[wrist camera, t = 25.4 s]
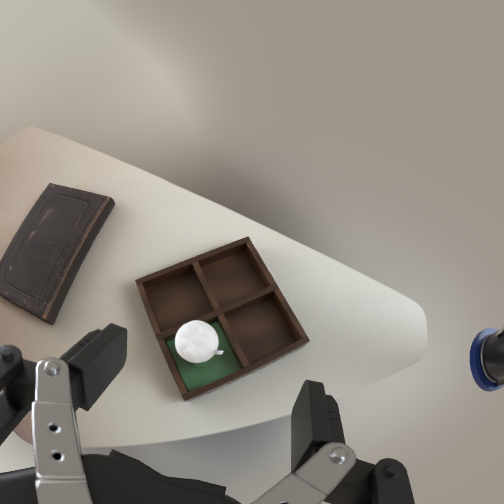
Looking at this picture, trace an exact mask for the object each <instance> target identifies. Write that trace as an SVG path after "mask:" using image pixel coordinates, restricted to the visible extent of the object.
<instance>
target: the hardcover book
mask: <svg viewBox="0 0 504 504" xmlns="http://www.w3.org/2000/svg"><path fill="white" fill-rule="evenodd" d="M114 205H115V202H114V200H113V199H112V198H111V197H108V196H103V195H99V194H95V193H91V192H86V191H82V190H78V189H74V188H69V187H65V186H61V185H56V184H52V183H49V185H48V186H47V187H46V189H45V190H44V192H43V193H42V194H41V196H40V197H39V199H38V200H37V202H36V203H35V205H34V206H33V208H32V209H31V211H30V212H29V214H28V215H27V217H26V218H25V220H24V221H23V223H22V225H21V226H20V228H19V229H18V231H17V233H16V234H15V236H14V238H13V240H12V241H11V243H10V245H9V246H8V248H7V250H6V252H5V254H4V255H3V257H2V259H1V261H0V295H1V296H3V297H4V298H6V299H8V300H9V301H11V302H12V303H14V304H16V305H17V306H19V307H21V308H23V309H24V310H26V311H28V312H29V313H31V314H33V315H35V316H37V317H38V318H40V319H42V320H44V321H46V322H48V323H50V324H51V325H53V324H54V322H55V319H56V317H57V315H58V312H59V310H60V308H61V306H62V303H63V301H64V299H65V297H66V295H67V293H68V290H69V288H70V286H71V284H72V282H73V280H74V278H75V276H76V274H77V272H78V270H79V268H80V266H81V264H82V262H83V260H84V258H85V256H86V254H87V253H88V251H89V249H90V247H91V245H92V243H93V241H94V240H95V238H96V236H97V234H98V233H99V231H100V229H101V227H102V226H103V224H104V222H105V220H106V219H107V217H108V215H109V214H110V212H111V210H112V209H113V207H114Z"/></svg>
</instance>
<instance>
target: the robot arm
mask: <svg viewBox="0 0 504 504" xmlns="http://www.w3.org/2000/svg"><path fill="white" fill-rule="evenodd" d="M126 355H127V329H126V328H123V327H121V326H118V325H115V324H113V323H110V324H109V325H108V326H107V327H106V328H104V329H103V330H99V329H98V330H95V331H92V332H89V333H88V334H87V335H85V336H84V337H83V338H82V339H81V340H80V341H78V342H77V344H75V345H74V346H73V347H71V348H70V349H69V350H68V351H67V352H66V353H64V354H63V355H62V356H61V357H60V358H54V357H49V358H44V359H42V360H41V361H39V362H38V363H35V362H32V361H28V360H25V359H23V358H22V353H21V351H20V349H18V348H17V347H15V346H13V345H2V346H0V391H1V390H2V389H3V392H2V393H1V394H0V446H1V444H2V443H3V442H4V441H5V439H6V438H7V437H8V436H9V434H10V433H11V432H12V431H13V430H14V428H15V427H16V426H17V425H18V424H19V422H20V421H21V420H22V419H23V418H24V417H25V415H26V414H27V413H28V412H29V411H30V410H32V432H33V448H34V459H35V467H30V468H26V469H21V470H15V471H10V472H4V473H0V504H241V503H240V502H238V501H237V500H235V499H234V498H232V497H230V496H228V495H225V490H226V487H224V486H220V485H216V484H212V483H208V482H204V481H200V480H194V479H183V478H174V477H167V476H164V475H162V474H160V473H158V472H157V471H155V470H153V469H152V468H150V467H148V466H147V465H145V464H144V463H142V462H140V461H139V460H137V459H134V458H131V457H129V456H127V455H124V454H122V453H120V452H118V451H115V450H112V451H111V453H110V454H109V456H108V455H102V454H83V450H82V445H81V441H80V435H79V430H78V424H77V418H76V410H77V409H78V408H79V407H80V408H82V409H84V410H86V411H89V409H90V408H91V407H92V406H93V404H94V403H95V402H96V401H97V399H98V398H99V397H100V395H101V394H102V393H103V392H104V391H105V389H106V388H107V387H108V386H109V384H110V383H111V382H112V381H113V379H114V378H115V377H116V376H117V374H118V373H119V372H120V371H121V370H122V368H123V366H124V364H125V361H126ZM480 365H481V369H482V372H483V374H484V376H485V377H486V379H487V380H488V381H490V382H492V383H494V384H495V386H496V387H498V386H501V385H504V326H503V327H502V328H501V329H500V330H498V331H496V332H494V333H492V334H489V335H488V336H486V337H485V338H484V340H483V342H482V344H481V348H480ZM340 420H341V419H340V414H339V408H338V404H337V402H336V401H335V400H334V398H333V397H332V396H331V395H325V390H324V385H323V383H321V382H316V381H310V380H305V382H304V384H303V386H302V388H301V391H300V393H299V395H298V397H297V400H296V402H295V404H294V407H293V410H292V415H291V473H289V474H288V475H287V476H285V477H284V478H283V479H282V480H281V481H279V482H278V483H277V484H276V485H274V487H272V488H271V489H269V490H268V491H267V492H266V493H264V494H263V495H262V496H260V497H259V498H258V499H256V500H255V501H254V502H252V503H251V504H321V503H322V501H325V502H328V503H331V504H415V503H414V498H413V494H412V490H411V486H410V482H409V478H408V474H407V470H406V468H405V467H404V465H403V464H402V463H400V462H399V461H397V460H394V459H390V458H385V459H382V460H380V461H379V462H378V463H377V464H376V465H375V464H371V463H367V462H365V461H361V460H359V459H357V458H356V455H355V453H354V451H353V450H352V449H351V448H350V447H349V446H347V445H346V444H345V439H344V433H343V428H342V423H341V421H340Z"/></svg>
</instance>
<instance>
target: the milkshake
mask: <svg viewBox="0 0 504 504" xmlns="http://www.w3.org/2000/svg"><path fill="white" fill-rule="evenodd" d="M218 344H219V340H218V336H217V333H216V331H215V330H214V328H213V327H212V326H210V325H209V324H207V323H206V322H203V321H199V320H194V321H191V322H188V323H186V324H184V325H182V326H181V327H180V329H179V330H178V332H177V334H176V337H175V347H176V350H177V352H178V354H179V355H180V356H181V357H182V358H184V359H185V360H187V361H189V362H190V363H191V364H193V365H194V366H196V367H198V368H204V367H207V366H208V365H210V364H211V363H212V362H213V358H214V355H215V354H218V355H221V354H222V353H223V351H218V350H217V348H218Z"/></svg>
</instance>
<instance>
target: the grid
mask: <svg viewBox="0 0 504 504" xmlns="http://www.w3.org/2000/svg"><path fill="white" fill-rule="evenodd" d="M135 281H136V284H137V287H138V290H139V293H140V295H141V298H142V301H143V304H144V306H145V309H146V312H147V315H148V317H149V320H150V322H151V325H152V327H153V330H154V333H155V335H156V338H157V340H158V342H159V345H160V347H161V350H162V352H163V354H164V357H165V359H166V361H167V364H168V366H169V368H170V371H171V373H172V375H173V377H174V379H175V382H176V384H177V386H178V388H179V390H180V392H181V394H182V397H183V399H184V401H187V402H188V401H191V400H193V399H195V398H198V397H200V396H202V395H205V394H207V393H209V392H212V391H214V390H216V389H219V388H221V387H223V386H225V385H227V384H230V383H232V382H234V381H236V380H238V379H240V378H243V377H245V376H247V375H249V374H251V373H253V372H255V371H257V370H259V369H261V368H263V367H265V366H267V365H269V364H271V363H273V362H275V361H277V360H279V359H281V358H283V357H285V356H287V355H289V354H290V353H292V352H294V351H296V350H298V349H300V348H302V347H303V346H305V345H306V344H307V343H308V342H309V341H310V340H309V338H308V337H307V335H306V333H305V332H304V330H303V328H302V326H301V325H300V323H299V321H298V320H297V318H296V316H295V315H294V313H293V311H292V309H291V308H290V306H289V304H288V303H287V301H286V299H285V298H284V296H283V294H282V293H281V291H280V289H279V288H278V286H277V284H276V282H275V281H274V279H273V277H272V276H271V274H270V272H269V271H268V269H267V267H266V266H265V264H264V262H263V261H262V259H261V257H260V255H259V254H258V252H257V250H256V249H255V247H254V245H253V244H252V242H251V240H250V238H249V237H245V238H243V239H240V240H237V241H235V242H232V243H230V244H227V245H224V246H222V247H219V248H217V249H214V250H211V251H209V252H206V253H204V254H201V255H198V256H196V257H193V258H191V259H188V260H185V261H183V262H180V263H178V264H175V265H173V266H170V267H167V268H165V269H162V270H160V271H157V272H155V273H152V274H150V275H147V276H145V277H142V278H140V279H137V280H135ZM194 320H199V321H203V322H206V323H207V324H209V325H210V326H212V327H213V328H214V330H215V331H216V333H217V336H218V340H219V344H218V348H217V350H218V351H223V353H222V354H221V355H218V354H215V355H214V358H213V362H212V363H211V364H210V365H208V366H207V367H204V368H198V367H196V366H194V365H193V364H191V363H190V362H189V361H187V360H185V359H184V358H182V357H181V356H180V355H179V354H178V352H177V350H176V347H175V337H176V334H177V332H178V330H179V329H180V327H181V326H182V325H184V324H186V323H188V322H191V321H194Z"/></svg>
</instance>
